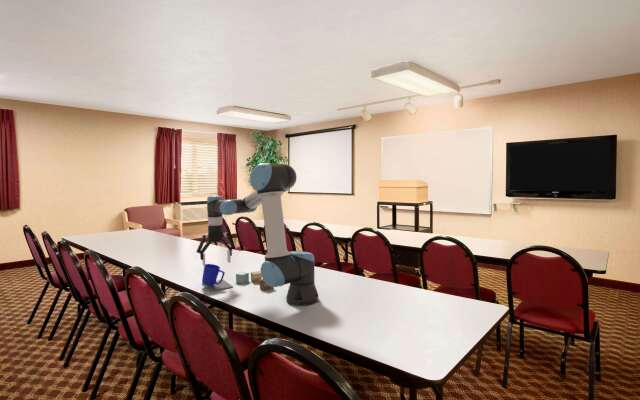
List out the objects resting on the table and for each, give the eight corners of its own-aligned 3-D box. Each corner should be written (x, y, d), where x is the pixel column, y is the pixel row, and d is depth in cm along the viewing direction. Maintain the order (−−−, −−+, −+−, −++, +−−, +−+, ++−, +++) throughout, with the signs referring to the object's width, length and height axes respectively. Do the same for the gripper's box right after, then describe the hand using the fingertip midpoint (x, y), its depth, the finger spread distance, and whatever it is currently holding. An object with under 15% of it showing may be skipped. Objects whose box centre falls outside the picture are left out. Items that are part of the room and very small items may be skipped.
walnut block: (273, 288, 189) (273, 279, 188) (266, 290, 185) (265, 281, 185) (267, 286, 192) (266, 277, 192) (259, 288, 188) (259, 279, 188)
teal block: (248, 281, 202) (248, 272, 202) (243, 283, 198) (243, 274, 197) (241, 280, 204) (241, 271, 204) (236, 282, 200) (235, 273, 200)
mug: (216, 290, 186) (220, 271, 186) (197, 283, 190) (201, 265, 189) (224, 287, 194) (229, 269, 194) (206, 280, 198) (210, 263, 197)
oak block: (261, 281, 201) (261, 273, 201) (252, 283, 199) (252, 274, 199) (259, 279, 206) (259, 271, 205) (250, 280, 204) (250, 272, 203)
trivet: (233, 287, 191) (232, 286, 191) (210, 291, 184) (210, 290, 184) (223, 280, 204) (223, 279, 204) (201, 284, 198) (201, 283, 198)
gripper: (235, 222, 202) (236, 259, 203) (189, 226, 188) (191, 265, 190) (240, 223, 196) (241, 261, 197) (193, 227, 182) (194, 268, 183)
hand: (216, 263), depth 193 cm, fingers open, 13 cm apart
